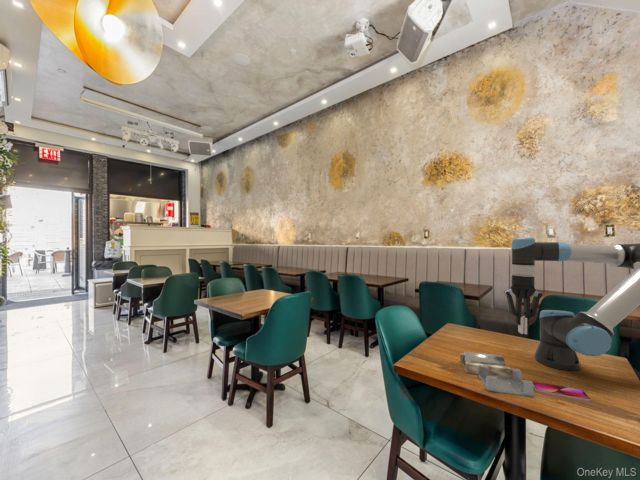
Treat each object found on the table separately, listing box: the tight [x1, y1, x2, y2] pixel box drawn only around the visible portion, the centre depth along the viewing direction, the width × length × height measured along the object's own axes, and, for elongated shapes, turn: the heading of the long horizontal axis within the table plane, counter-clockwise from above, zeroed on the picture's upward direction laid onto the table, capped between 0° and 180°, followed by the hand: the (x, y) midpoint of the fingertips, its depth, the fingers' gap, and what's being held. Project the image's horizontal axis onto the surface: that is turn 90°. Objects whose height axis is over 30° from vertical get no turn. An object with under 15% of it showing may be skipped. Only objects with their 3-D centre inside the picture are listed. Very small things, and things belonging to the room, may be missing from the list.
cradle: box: [478, 365, 534, 398], centre depth 102 cm, size 14×11×4 cm
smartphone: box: [531, 381, 591, 402], centre depth 98 cm, size 7×1×15 cm
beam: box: [459, 352, 511, 377], centre depth 115 cm, size 16×12×4 cm
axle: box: [463, 351, 506, 366], centre depth 116 cm, size 14×6×6 cm, turn 75°
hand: (522, 332), depth 112 cm, fingers closed
